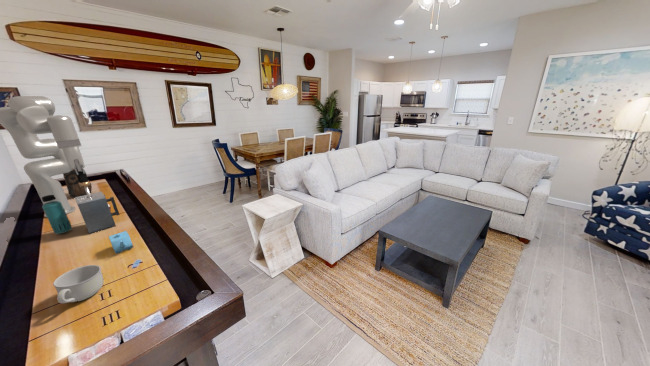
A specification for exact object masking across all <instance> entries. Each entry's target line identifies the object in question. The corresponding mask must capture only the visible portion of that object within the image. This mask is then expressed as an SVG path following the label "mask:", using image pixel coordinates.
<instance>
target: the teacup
mask: <svg viewBox="0 0 650 366" xmlns="http://www.w3.org/2000/svg"><path fill="white" fill-rule="evenodd" d="M103 285H104V277H103V274H102V269H101V266H100V265H97V264H87V265H83V266H80V267H79V266H78V267H76V268H73V269H70V270H68V271H66V272H64V273H63V274H61V275H59V276H58V277H57V278H55V280H54V281H53V286H54V288H55V290H56V293H57V296H56V299H57V302H58V304H59V303H60V304H67V303H75V302H77V301H78V302H82V301H84V300H85V301H86V300H87V299H89V298H91V297H92V296H94V295H96V293H98V292H99V291H100V290H101V288H102V287H103ZM78 302H77V303H78Z"/></svg>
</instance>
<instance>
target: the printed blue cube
mask: <svg viewBox="0 0 650 366" xmlns="http://www.w3.org/2000/svg"><path fill="white" fill-rule="evenodd" d="M108 239H109V241H110V244H111V247H112V249H113V251H114V254H115V255H116V254H120V253H121V254H122V252H125V251H127V250H128V251H129V250H131V249H133V248H134V245H133V242H132V240H131V237H130V234H129V233H128V231H127V230H124V231H121V232H118V233H115V234H112V235H108Z"/></svg>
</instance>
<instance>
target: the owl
mask: <svg viewBox="0 0 650 366" xmlns="http://www.w3.org/2000/svg"><path fill="white" fill-rule="evenodd" d="M84 172H85V173H86V174H87V172H86V170H85V169H84ZM62 175H63V178H64V182H65V187H66V188H67V192H68V195H69V196H70V197H71V198H72V197H73V199H74V198H75V197H79V196H84V195H87V193H86V191H85V188H84V187H80V185H79V180H78V178H77V176H76V175H77V174H76V171H75V169H73V170H71V171H70V172H68V173H64V174H62ZM88 181H89V182H90V185H88V189H89V192H90V193H91V191H92V190H93V189H92V188H93V187H92V183H91V181H90V180H89V179H88ZM91 194H92V193H91Z"/></svg>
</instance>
